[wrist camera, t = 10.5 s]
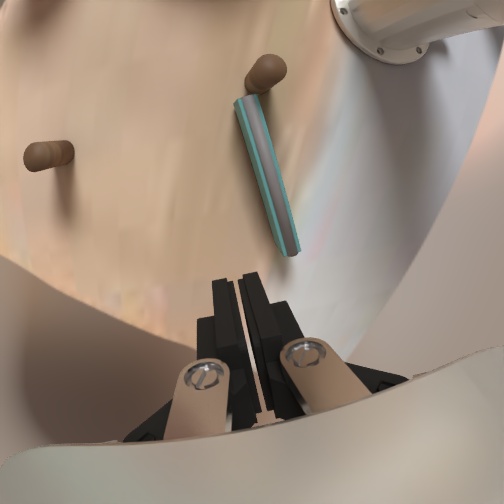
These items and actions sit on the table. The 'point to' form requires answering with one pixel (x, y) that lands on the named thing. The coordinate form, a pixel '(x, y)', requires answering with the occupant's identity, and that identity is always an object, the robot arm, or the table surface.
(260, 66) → the gate posts
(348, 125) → the table surface
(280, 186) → the bar
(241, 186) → the table surface
